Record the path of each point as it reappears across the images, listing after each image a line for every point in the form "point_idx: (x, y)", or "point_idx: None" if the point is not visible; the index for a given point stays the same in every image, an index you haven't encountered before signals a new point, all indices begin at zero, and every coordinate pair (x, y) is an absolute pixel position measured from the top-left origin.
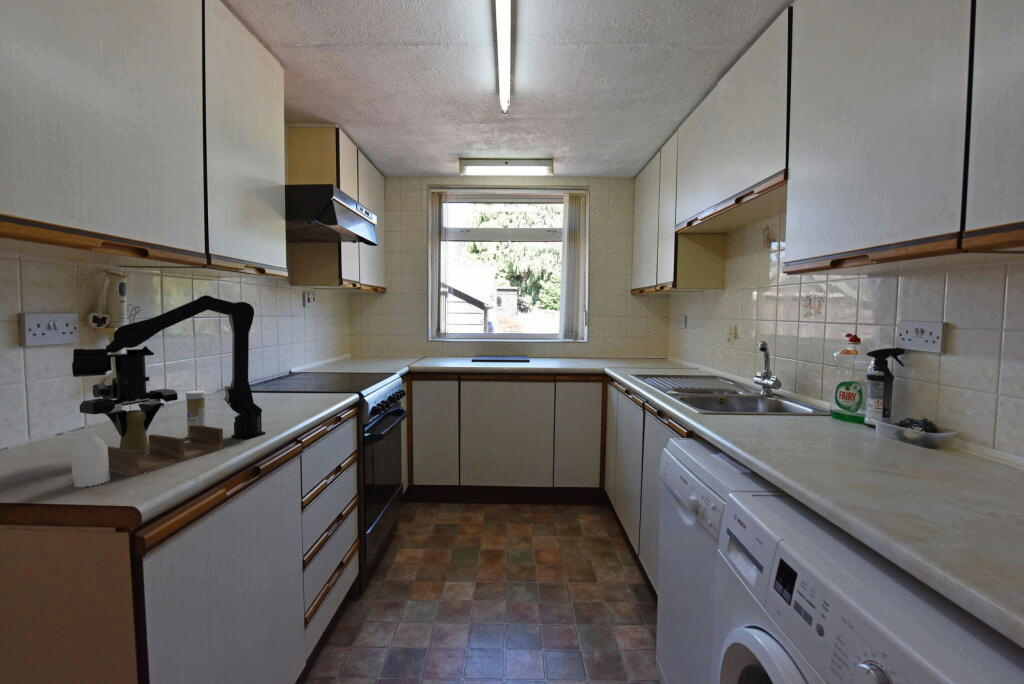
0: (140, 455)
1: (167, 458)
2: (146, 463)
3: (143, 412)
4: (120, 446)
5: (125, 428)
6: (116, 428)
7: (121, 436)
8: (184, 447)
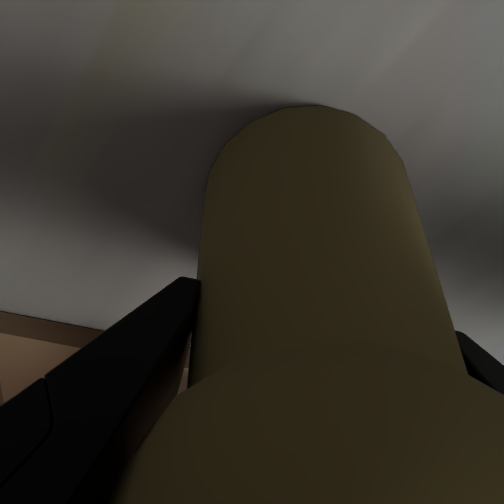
0: (184, 373)
1: None
2: None
3: None
4: (208, 206)
5: None
6: (110, 338)
7: (206, 261)
8: None
